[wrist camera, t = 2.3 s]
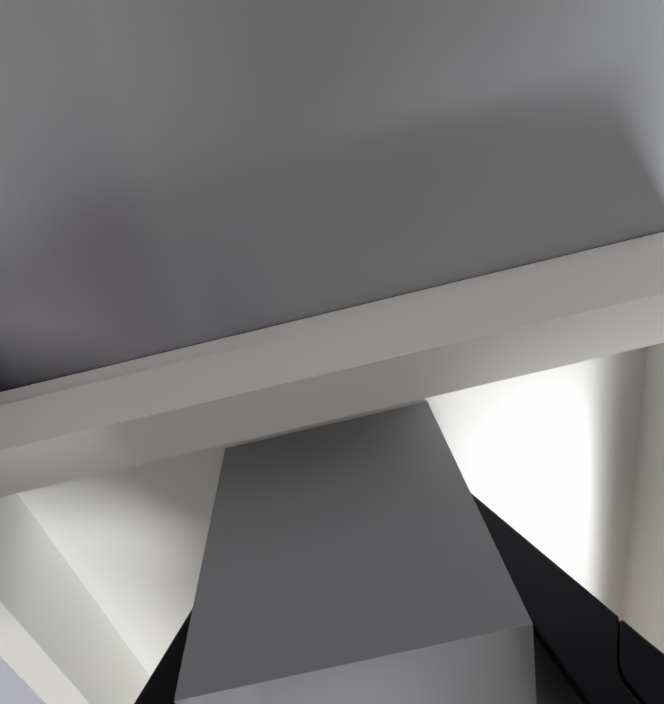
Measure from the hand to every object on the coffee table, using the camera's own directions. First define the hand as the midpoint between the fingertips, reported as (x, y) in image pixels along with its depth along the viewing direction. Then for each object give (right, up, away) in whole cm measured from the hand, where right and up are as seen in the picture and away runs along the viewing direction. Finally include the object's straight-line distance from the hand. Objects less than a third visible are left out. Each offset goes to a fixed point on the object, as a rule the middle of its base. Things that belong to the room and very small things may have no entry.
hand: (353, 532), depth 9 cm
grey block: (0, 0, +1) cm, 1 cm away
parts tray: (+1, -2, +3) cm, 3 cm away
